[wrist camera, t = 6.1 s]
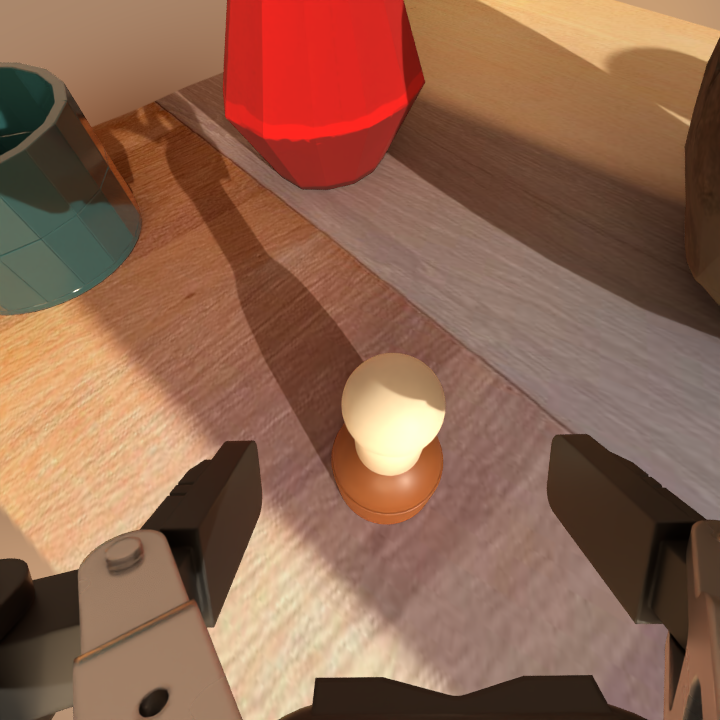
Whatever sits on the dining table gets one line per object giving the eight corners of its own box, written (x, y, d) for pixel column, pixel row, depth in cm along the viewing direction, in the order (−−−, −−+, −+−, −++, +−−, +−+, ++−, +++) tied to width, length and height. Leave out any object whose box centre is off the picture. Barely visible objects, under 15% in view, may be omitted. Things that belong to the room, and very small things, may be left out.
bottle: (281, 238, 30) (153, -249, 12) (220, 150, 36) (76, -261, 18) (448, 169, 33) (530, -282, 16) (367, 99, 39) (362, -283, 22)
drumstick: (388, 548, 19) (404, 515, 9) (316, 473, 21) (270, 384, 11) (454, 470, 21) (521, 377, 11) (382, 407, 22) (389, 284, 13)
